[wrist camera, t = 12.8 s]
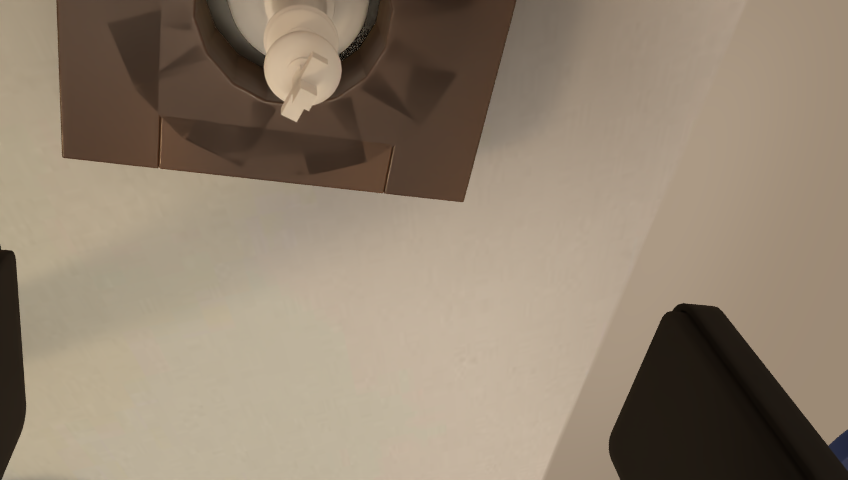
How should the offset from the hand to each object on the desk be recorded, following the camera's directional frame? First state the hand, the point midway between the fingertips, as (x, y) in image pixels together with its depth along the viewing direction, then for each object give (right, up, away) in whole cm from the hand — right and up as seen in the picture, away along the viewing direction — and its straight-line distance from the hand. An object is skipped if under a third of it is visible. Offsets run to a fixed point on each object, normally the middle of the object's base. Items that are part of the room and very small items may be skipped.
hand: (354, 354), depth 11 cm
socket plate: (-3, +10, +15) cm, 19 cm away
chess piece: (-3, +10, +16) cm, 19 cm away
